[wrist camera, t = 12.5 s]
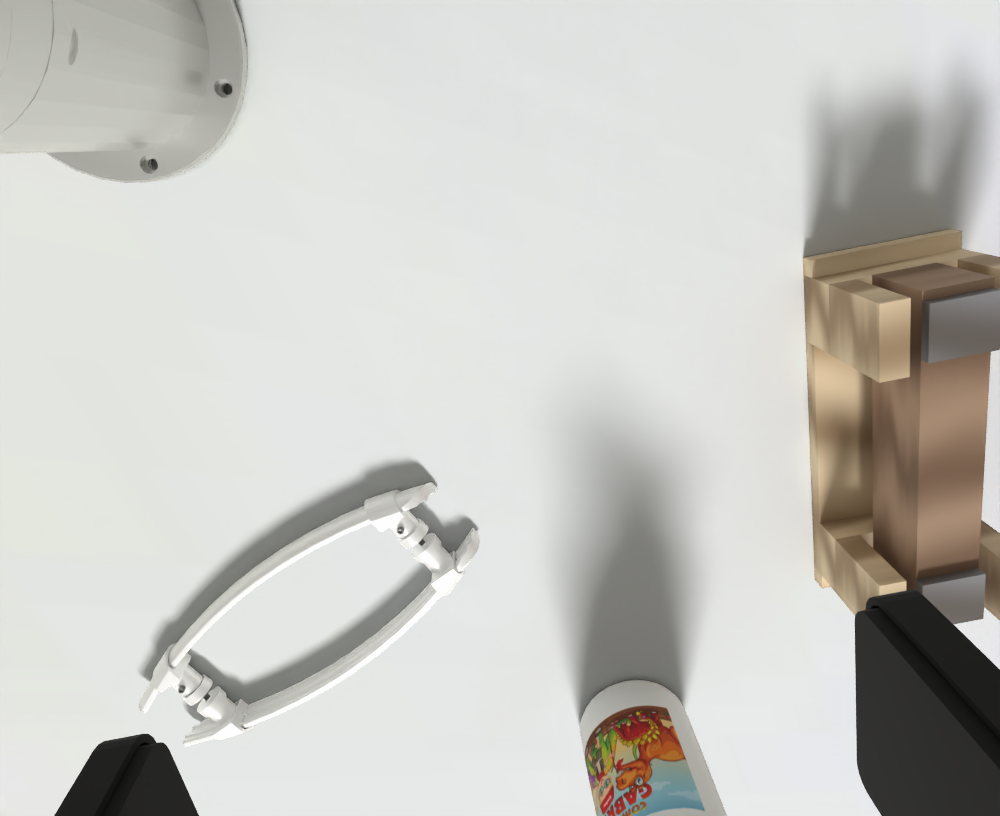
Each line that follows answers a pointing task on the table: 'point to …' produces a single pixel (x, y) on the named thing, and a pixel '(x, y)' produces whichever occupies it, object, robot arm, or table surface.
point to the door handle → (243, 717)
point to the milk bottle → (645, 754)
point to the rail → (936, 437)
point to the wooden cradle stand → (866, 403)
